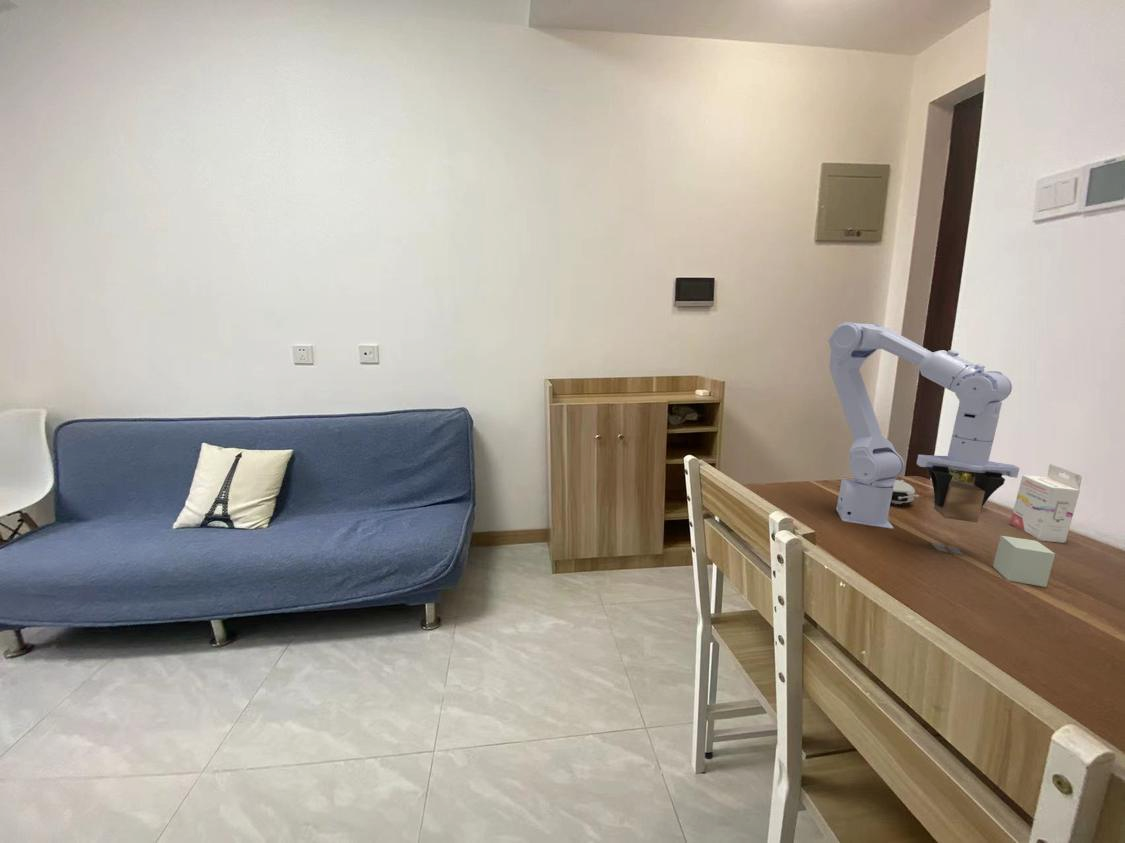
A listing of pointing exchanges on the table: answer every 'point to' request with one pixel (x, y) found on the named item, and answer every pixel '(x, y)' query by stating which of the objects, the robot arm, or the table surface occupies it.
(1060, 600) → the table surface
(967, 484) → the walnut block
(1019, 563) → the sage block
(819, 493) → the table surface
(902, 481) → the robot toy
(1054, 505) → the ink cartridge box
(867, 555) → the table surface
